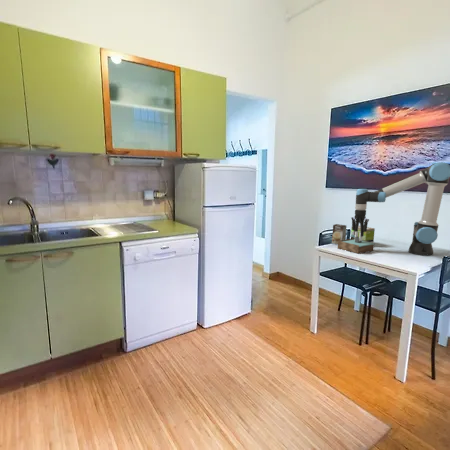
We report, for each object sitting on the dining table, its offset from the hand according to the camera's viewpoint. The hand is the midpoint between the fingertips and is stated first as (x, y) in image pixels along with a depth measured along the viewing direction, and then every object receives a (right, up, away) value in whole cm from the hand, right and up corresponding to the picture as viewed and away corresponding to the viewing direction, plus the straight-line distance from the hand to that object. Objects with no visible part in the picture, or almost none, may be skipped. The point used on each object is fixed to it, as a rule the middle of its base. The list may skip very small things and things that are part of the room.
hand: (358, 240), depth 215 cm
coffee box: (-6, -5, +23) cm, 24 cm away
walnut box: (-1, -8, +3) cm, 8 cm away
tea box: (+12, -5, +21) cm, 25 cm away
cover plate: (0, -3, 0) cm, 3 cm away
